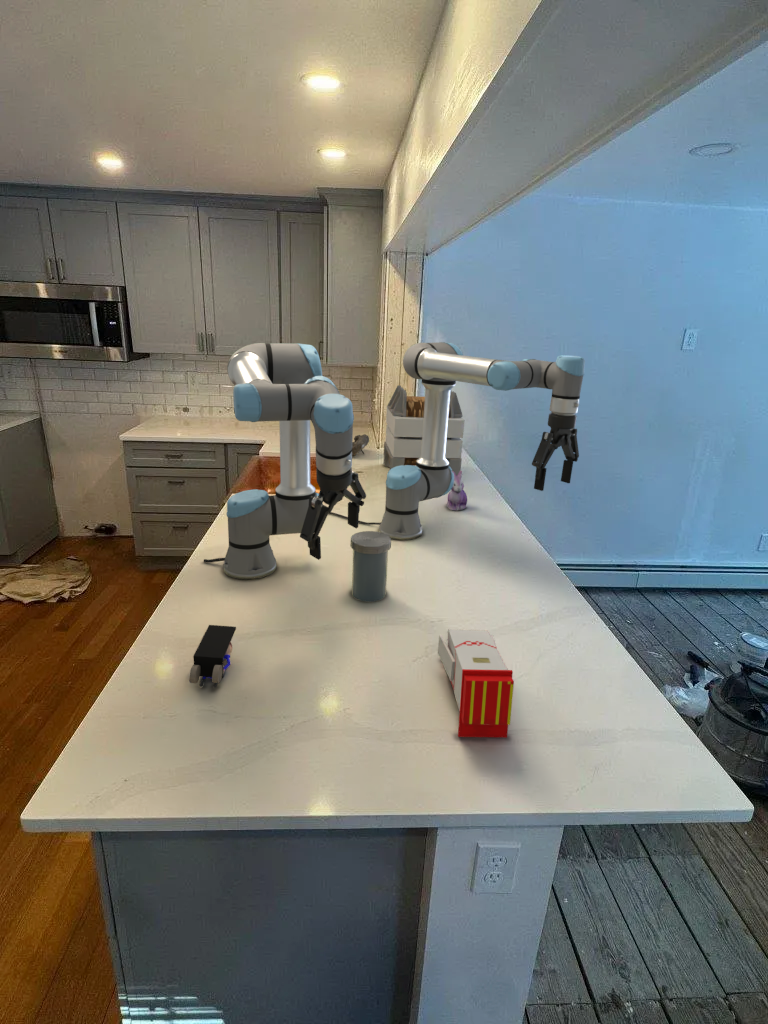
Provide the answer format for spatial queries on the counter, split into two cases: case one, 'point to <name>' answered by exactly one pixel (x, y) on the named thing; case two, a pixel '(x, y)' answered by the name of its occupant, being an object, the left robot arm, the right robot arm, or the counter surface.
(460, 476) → the figurine
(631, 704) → the counter surface
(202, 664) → the black wheeled vehicle
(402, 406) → the white slatted box
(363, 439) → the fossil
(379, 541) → the lid
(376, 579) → the jar
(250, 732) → the counter surface
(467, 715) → the toy
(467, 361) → the right robot arm
